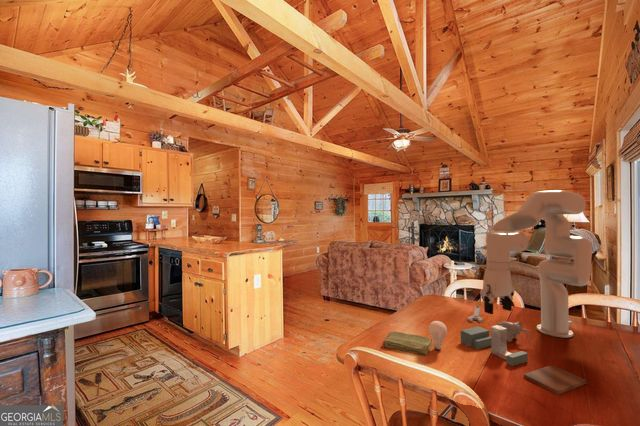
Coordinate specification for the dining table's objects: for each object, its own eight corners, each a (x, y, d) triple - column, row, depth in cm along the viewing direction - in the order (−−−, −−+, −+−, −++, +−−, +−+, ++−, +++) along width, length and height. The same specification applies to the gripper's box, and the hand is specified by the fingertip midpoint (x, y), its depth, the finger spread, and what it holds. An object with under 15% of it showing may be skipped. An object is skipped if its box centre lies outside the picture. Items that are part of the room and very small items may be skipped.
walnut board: (551, 367, 103) (551, 365, 103) (586, 383, 93) (586, 380, 93) (523, 377, 97) (523, 374, 97) (558, 394, 88) (558, 391, 88)
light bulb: (437, 354, 113) (437, 325, 113) (425, 347, 119) (424, 319, 119) (451, 351, 116) (450, 322, 115) (437, 344, 122) (437, 317, 121)
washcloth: (428, 357, 112) (428, 349, 112) (381, 348, 120) (381, 340, 120) (432, 343, 123) (432, 335, 123) (389, 336, 131) (389, 328, 131)
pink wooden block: (497, 351, 115) (497, 325, 115) (513, 358, 110) (512, 330, 110) (491, 352, 114) (490, 326, 114) (506, 360, 108) (506, 332, 108)
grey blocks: (478, 338, 127) (478, 326, 127) (529, 361, 107) (529, 347, 107) (460, 342, 123) (460, 330, 123) (510, 366, 104) (510, 352, 104)
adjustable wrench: (475, 308, 166) (475, 304, 166) (488, 310, 163) (488, 307, 162) (466, 321, 146) (466, 318, 146) (481, 324, 142) (481, 321, 142)
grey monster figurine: (498, 333, 132) (496, 316, 132) (531, 339, 124) (529, 320, 125) (494, 341, 124) (493, 323, 125) (530, 347, 117) (528, 327, 117)
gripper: (504, 262, 119) (504, 305, 119) (472, 265, 113) (472, 311, 113) (523, 265, 112) (523, 311, 112) (490, 269, 106) (490, 317, 106)
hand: (498, 311), depth 113 cm, fingers open, 9 cm apart
